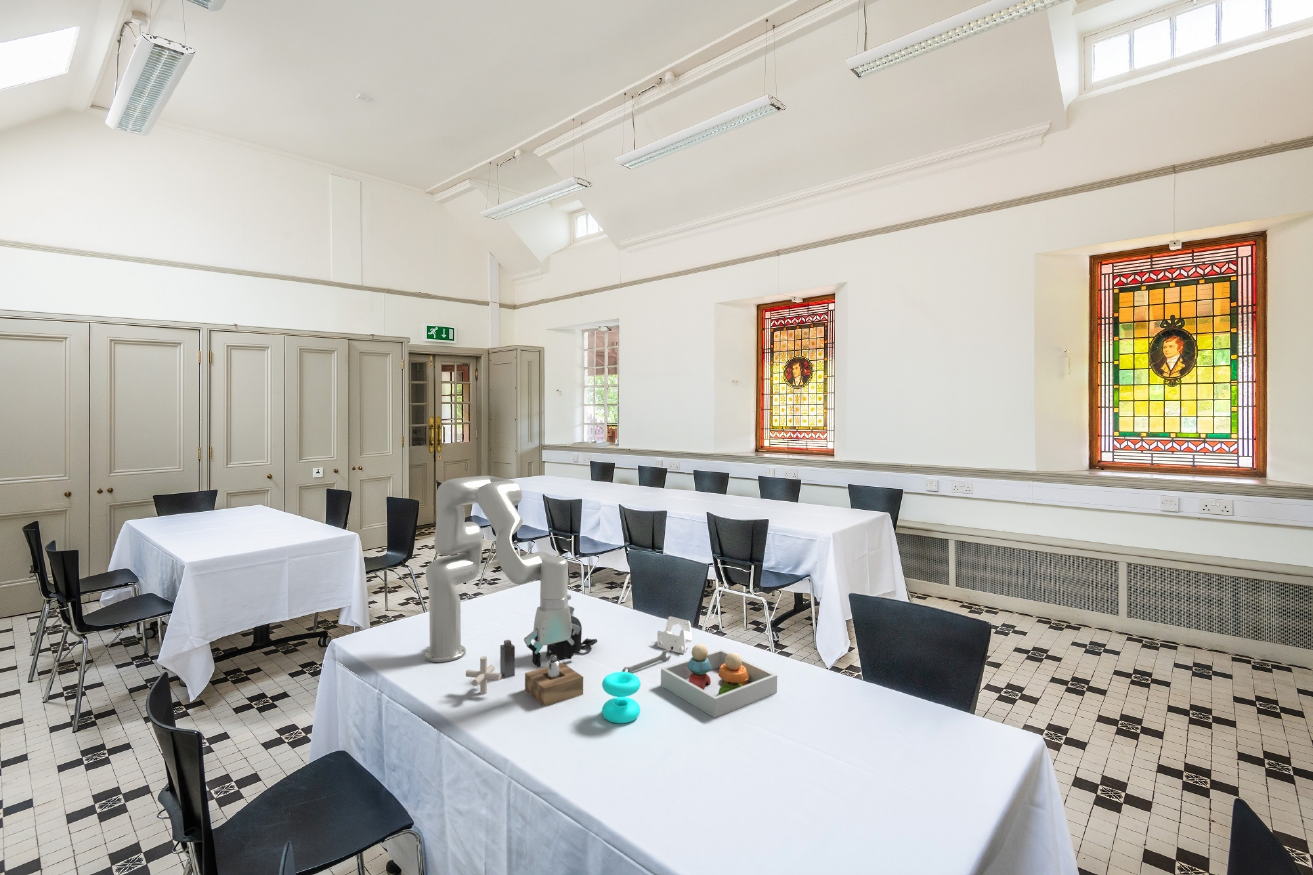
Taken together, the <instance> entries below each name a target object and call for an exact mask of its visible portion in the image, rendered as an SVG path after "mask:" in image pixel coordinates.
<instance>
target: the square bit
mask: <svg viewBox="0 0 1313 875" xmlns="http://www.w3.org/2000/svg"><path fill="white" fill-rule="evenodd" d="M499 647H500V650H499V651H500V655H499V657H500V658H499V659H500V660H499V662H500V665H499V667H500V668H499V670H500V672H499V673H501V678H503V679H509V678H511V677H515V676H516V669H515V668H516V661H515V660H516V658H515V657H516V646H515V645H514V644H513V643H512V640H510V639H504V640H503V644H501V645H499Z"/></svg>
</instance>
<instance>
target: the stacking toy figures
mask: <svg viewBox="0 0 1313 875" xmlns="http://www.w3.org/2000/svg"><path fill="white" fill-rule="evenodd" d="M728 653H729V654H728V655H727V656H726V658H725V664H723V665H721V667H719V668H718V677H719V678H720V679H721V680H723V684H721V686H720V688H719V689H718V693H717V696H718V695H721V694H723V693H726V692H729V691H731V690H734V689H737V688H739V687H742V686H744V685H747V684H749V681H748V680H749V675H748V674H747V671H746V668H745V667H744V666H742V665H741V664H742V660H741V659H742V658H741V656H740V654H738V653H736V652H728ZM708 654H709V651H708V648H707V646H705V645H704V644H702V643H697V644H695V645H693V647H692V649H691V655H692V656H691V657H690V659H689V660H690V661H689V663H688V669H689V670H690V671H691V672H693V673H692V674H691V675H690V677H689V678H688V680H687V681H688V682H690V683H692V684H694V685H696V686H697V687H699V688H701V689H703V690H705V687H706V685H711V683H712V682H711V677H710V675H709V674H707V673H709V672H710V670H711V665H710V662H709V660H708V658H707V655H708ZM711 671H712V670H711Z"/></svg>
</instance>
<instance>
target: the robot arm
mask: <svg viewBox="0 0 1313 875" xmlns="http://www.w3.org/2000/svg"><path fill="white" fill-rule="evenodd" d="M522 492H523V491H522V489H521V487H520V486H519V484H518V483H517V482H516V481H514V480H511V479H508V478H502V477H497V476H492V475H477V476H465V477H459V478H450V479H447V480H445V481H443V482H441V483H440V485H439V486H438V488H437V492H436V496H435V498H436V508H437V510H436V511H437V513H436V523H435V533H434V542H433V543H434V544H433V545H434V546H433V547H434V550H435V552H436V554H438V555H440V556H444V557H441V558H438V559H435V560H433V561H432V562H430V563H429V564H428V565H427V567H426V569H425V580H426V584H427V589H428V601H429V603H428V604H429V605H428V606H429V608H428V609H429V611H428V612H429V648H428V649H426V650H425V652H424V659H425V660H427V661H429V662H433V663H444V662H445V663H446V662H451V661H455V660H458V659H460V658H462V657H464V655H465V654H466V652H467V649H466V647H465V646H464V645H462V643H461V638H462V637H461V634H462V633H461V628H462V627H461V625H462V624H461V623H462V621H461V620H462V618H461V616H462V615H461V614H462V613H461V611H462V610H461V597H460V595H459V593H458V592H457V590H456V589H455V586H458V585H461V584H464V583H469V582H471V581H473V580H475V579H476V578H477V577H478V575H479V572H480V569H481V564H482V563H481V562H482V554H483V545H484V535H483V530H482V528H481V526H480V525H478V523H476V522H474V521H466V522H465V519H466V511H465V508H464V506H465V505H472V504H473V505H474V504H478V505H479V507H480V509H481V511H482V513H483V514H484V516H485V517H486V519H487V520H488V522H489V523H490V525H491V527H492V528H493V530H494V532H495V534H496V539H495V556H496V557H495V558H496V560H497V563H498V564H499V566H500V568H501V569H502V571H503V573H504V574H505V576H506V577H507V579H508V580H509V581H510V582H512V583H513V584H516V585H524V584H527V583H528V584H529V583H530V582H533V581H536V580H537V581H538V580H540V588H539V589H540V590H539V591H540V592H539V594H540V595H539V596H540V597H539V606H537V608H536V611H535V616H534V622H533V631H532V632H531V633H529V634H528V635H527V636H525V637H524V638H523V641H524V643H525V645H526V647H527V648H528V649H529V650H531V652H532V653H531V654H532V656H531V657H532V659H531V661H532V664H533V665H534V666H535V667H536V668H540V667H541V665H542V664H541V660H542V658H541V657H542V654H541V653H540V651H541V649H542V648H543V647H544V646H547V645H549V644H553V643H557V642H561V641H565V640H566V642H565V643H564V656H565V657H566V658H565V659H568V660H572V656H571V654H572V645H573V644H574V641H575V640H576V639H577V637H578V634H579V632H580V629H581V627H579V626H578V625H575V624H572V623H571V614H570V608H569V606H570V605H569V603H568V601H569V600H571V599H572V595H571V594H568V590H569V589H568V582H569V581H568V580H569V578H568V577H569V575H568V574H569V563H568V560H567V559H566V558H564V557H561V556H554V555H552V554H550V553H548V552H545V551H537V552H532V553H527V554H524V555H521V556H519V555H518V553H517V551H516V549H515V547H514V545H513V543H512V537H513V535H515V533H516V532H518V531H519V530H520V528H521V527H522V525H523V521H524V520H523V517H522V516H521V514H520V513H519V511H518V509H517V508H516V506H518V505H519V504H520V503H521V501H522V498H523V493H522ZM572 629H574V631H573V633H572V634H571V630H572ZM533 640H534V642H533V643H532V641H533Z"/></svg>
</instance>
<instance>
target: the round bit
mask: <svg viewBox="0 0 1313 875" xmlns="http://www.w3.org/2000/svg"><path fill="white" fill-rule="evenodd" d="M559 663H560V659H557V655H551V656H550V659H548V660H547V667H548V679H549V680H553V679H556V678H559Z"/></svg>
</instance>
